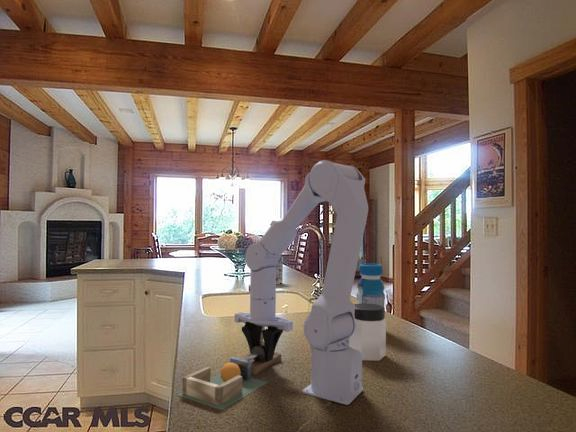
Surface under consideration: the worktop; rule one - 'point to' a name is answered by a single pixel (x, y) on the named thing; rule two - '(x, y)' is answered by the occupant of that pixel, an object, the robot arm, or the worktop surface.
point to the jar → (369, 331)
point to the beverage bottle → (370, 285)
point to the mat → (247, 388)
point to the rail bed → (264, 363)
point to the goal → (211, 387)
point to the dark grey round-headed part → (245, 364)
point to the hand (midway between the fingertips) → (262, 358)
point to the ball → (229, 371)
